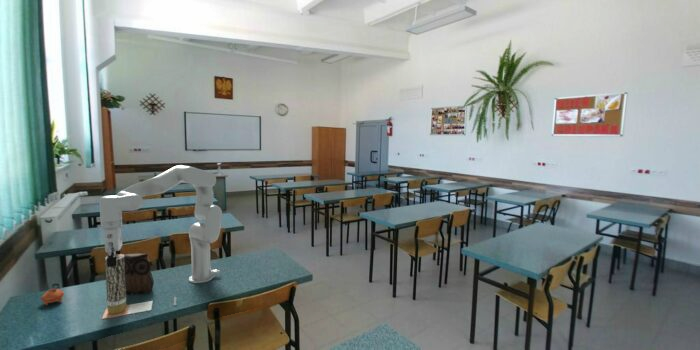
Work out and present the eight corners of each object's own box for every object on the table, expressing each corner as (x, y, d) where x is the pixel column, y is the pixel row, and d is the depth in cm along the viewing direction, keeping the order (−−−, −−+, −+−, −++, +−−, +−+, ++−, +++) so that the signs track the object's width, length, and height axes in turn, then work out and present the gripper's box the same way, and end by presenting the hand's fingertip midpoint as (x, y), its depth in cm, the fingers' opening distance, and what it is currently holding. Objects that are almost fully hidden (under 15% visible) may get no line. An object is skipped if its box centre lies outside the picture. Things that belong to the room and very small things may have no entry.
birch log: (115, 306, 150) (113, 253, 147) (129, 307, 149) (127, 254, 147) (103, 314, 143) (101, 259, 140) (119, 315, 143) (116, 259, 140)
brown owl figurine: (155, 291, 165) (153, 253, 163) (125, 299, 157) (122, 259, 155) (149, 283, 174) (147, 247, 172) (120, 290, 166) (118, 252, 164)
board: (176, 297, 160) (176, 296, 160) (176, 305, 152) (176, 305, 152) (106, 309, 148) (106, 308, 148) (101, 319, 140) (101, 318, 140)
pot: (69, 296, 158) (66, 285, 156) (58, 308, 151) (55, 296, 148) (50, 297, 156) (47, 285, 154) (38, 309, 149) (35, 297, 147)
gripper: (118, 228, 136) (121, 268, 138) (125, 218, 151) (127, 254, 153) (96, 230, 132) (99, 271, 134) (105, 220, 147) (107, 256, 149)
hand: (114, 262), depth 143 cm, fingers open, 9 cm apart
